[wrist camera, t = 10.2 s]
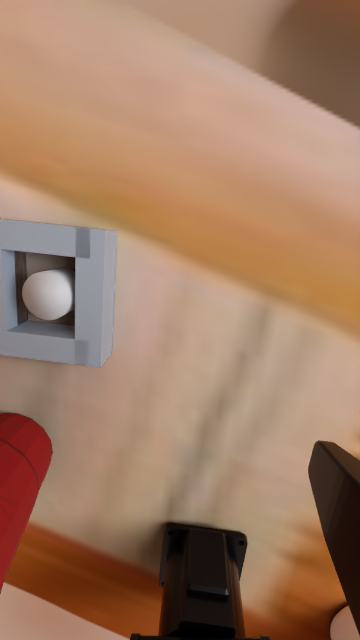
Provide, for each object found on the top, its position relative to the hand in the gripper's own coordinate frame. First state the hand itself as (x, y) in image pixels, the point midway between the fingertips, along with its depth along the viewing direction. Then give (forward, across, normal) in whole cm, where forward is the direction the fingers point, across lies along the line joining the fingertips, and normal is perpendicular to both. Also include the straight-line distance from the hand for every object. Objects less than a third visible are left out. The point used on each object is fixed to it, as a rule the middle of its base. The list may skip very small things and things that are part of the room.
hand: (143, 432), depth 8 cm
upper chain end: (+12, +11, -1) cm, 16 cm away
